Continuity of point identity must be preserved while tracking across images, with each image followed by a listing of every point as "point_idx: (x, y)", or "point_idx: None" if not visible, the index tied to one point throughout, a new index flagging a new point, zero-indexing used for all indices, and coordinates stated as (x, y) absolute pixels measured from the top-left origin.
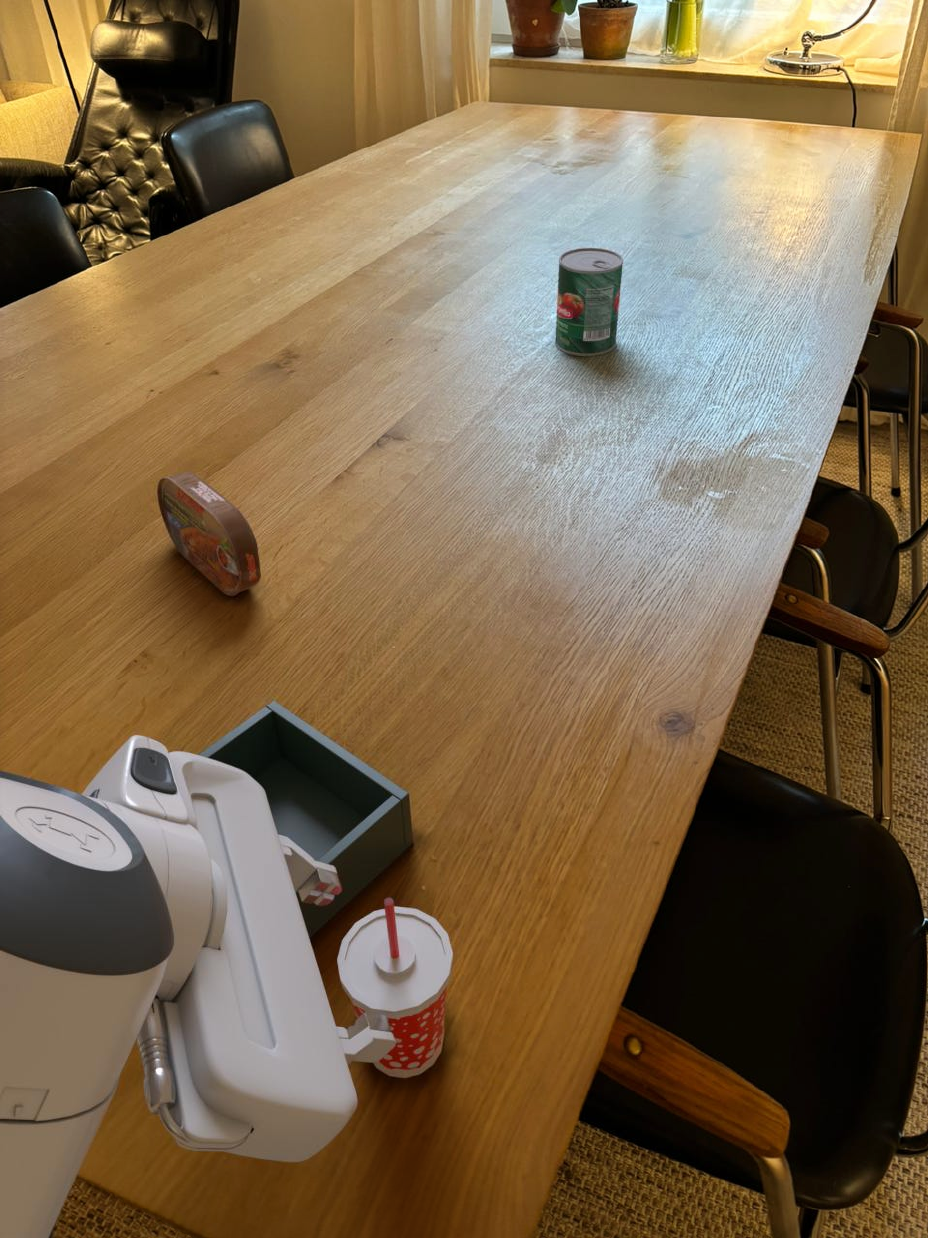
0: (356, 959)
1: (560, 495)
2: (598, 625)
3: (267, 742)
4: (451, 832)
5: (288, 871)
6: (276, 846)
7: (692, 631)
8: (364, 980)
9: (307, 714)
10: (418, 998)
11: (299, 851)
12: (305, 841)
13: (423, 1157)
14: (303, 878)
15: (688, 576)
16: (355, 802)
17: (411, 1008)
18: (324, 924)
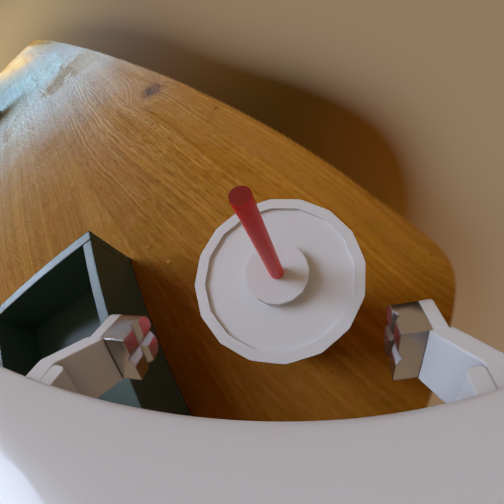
0: (259, 331)
1: (21, 133)
2: (77, 120)
3: (18, 333)
4: (136, 227)
5: (74, 395)
6: (26, 390)
7: (111, 82)
8: (298, 328)
9: None
10: (354, 258)
11: (66, 352)
12: None
13: None
14: (108, 364)
15: (88, 83)
16: (80, 289)
17: (364, 272)
18: (163, 354)
